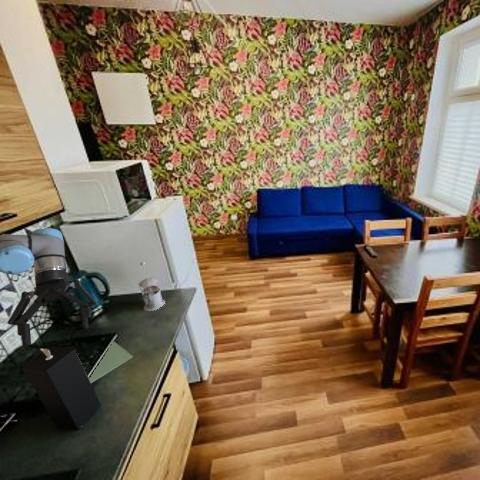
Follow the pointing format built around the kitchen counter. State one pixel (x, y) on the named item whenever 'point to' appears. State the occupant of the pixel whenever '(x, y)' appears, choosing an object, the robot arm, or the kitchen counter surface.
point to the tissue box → (63, 386)
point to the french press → (151, 293)
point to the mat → (110, 361)
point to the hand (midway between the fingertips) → (57, 336)
